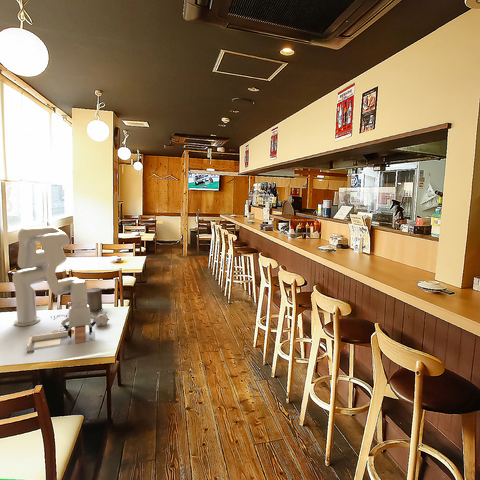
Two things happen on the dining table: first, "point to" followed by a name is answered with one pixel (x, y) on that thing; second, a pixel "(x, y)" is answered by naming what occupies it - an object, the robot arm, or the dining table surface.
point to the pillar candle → (94, 299)
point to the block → (80, 334)
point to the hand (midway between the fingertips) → (80, 335)
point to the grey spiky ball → (102, 319)
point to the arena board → (54, 340)
